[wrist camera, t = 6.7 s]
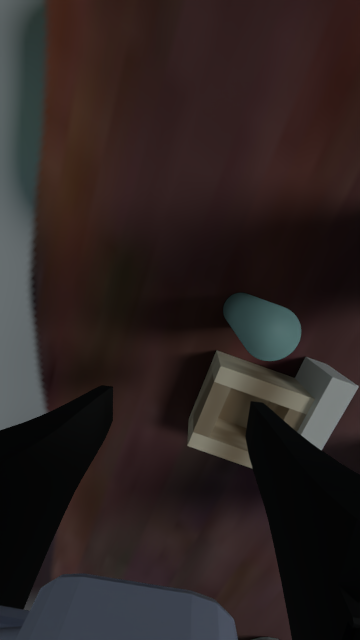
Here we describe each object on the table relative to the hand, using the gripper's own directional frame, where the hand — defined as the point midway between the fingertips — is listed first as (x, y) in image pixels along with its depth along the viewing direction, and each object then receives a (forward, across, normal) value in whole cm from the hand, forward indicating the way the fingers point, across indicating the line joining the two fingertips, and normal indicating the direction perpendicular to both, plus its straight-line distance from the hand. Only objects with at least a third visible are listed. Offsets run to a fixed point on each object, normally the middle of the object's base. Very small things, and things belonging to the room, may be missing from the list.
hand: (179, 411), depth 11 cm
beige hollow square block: (+9, -5, +4) cm, 12 cm away
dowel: (+9, -4, -4) cm, 11 cm away
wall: (+9, -10, +6) cm, 15 cm away
